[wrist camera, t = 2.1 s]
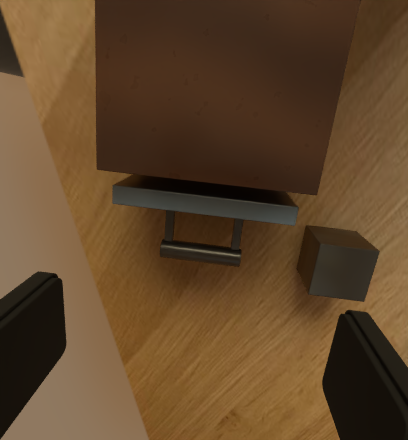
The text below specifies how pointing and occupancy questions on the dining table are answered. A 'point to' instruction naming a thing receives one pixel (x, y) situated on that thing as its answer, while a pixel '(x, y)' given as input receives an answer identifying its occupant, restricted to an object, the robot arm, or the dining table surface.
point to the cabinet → (220, 88)
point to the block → (336, 263)
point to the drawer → (205, 211)
